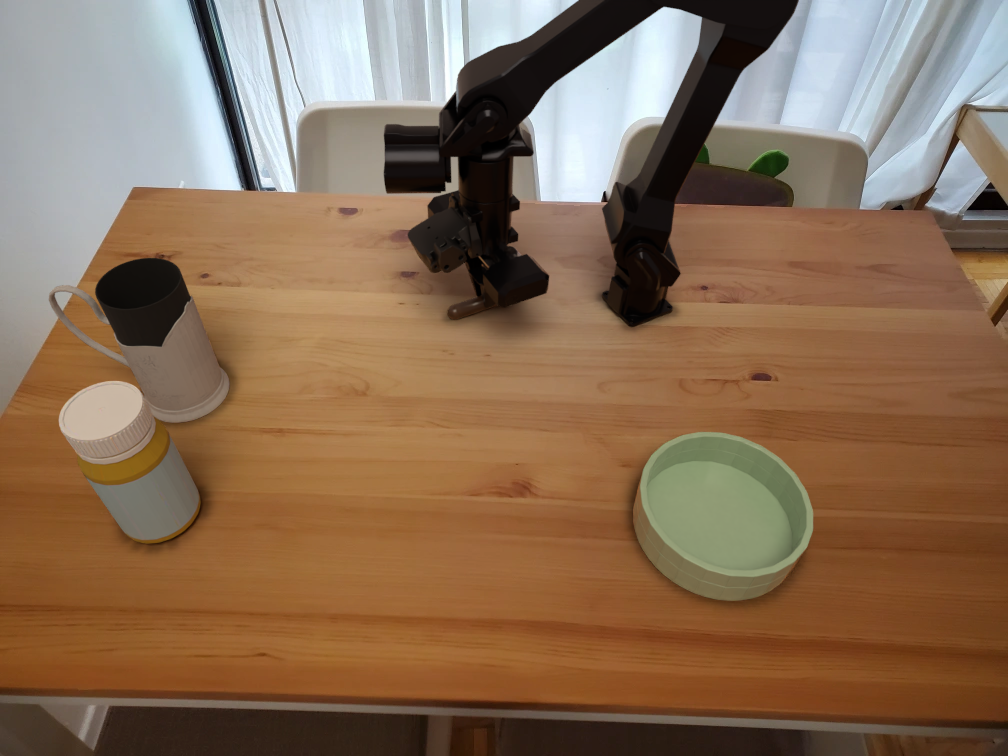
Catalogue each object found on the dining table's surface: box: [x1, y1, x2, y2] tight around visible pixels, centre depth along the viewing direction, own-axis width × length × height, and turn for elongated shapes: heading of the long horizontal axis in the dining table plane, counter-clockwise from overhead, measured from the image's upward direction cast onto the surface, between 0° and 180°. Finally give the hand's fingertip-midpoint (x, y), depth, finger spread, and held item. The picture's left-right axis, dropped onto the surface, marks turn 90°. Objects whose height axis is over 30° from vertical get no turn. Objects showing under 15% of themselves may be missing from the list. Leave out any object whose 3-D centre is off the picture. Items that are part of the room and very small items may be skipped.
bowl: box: [632, 431, 814, 602], centre depth 66 cm, size 15×15×4 cm
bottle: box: [58, 380, 202, 544], centre depth 61 cm, size 7×7×15 cm
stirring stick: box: [446, 295, 498, 320], centre depth 87 cm, size 10×2×2 cm, turn 119°
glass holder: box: [48, 257, 231, 424], centre depth 72 cm, size 9×14×15 cm, turn 85°
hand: (484, 301), depth 87 cm, fingers closed on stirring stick, 2 cm apart
